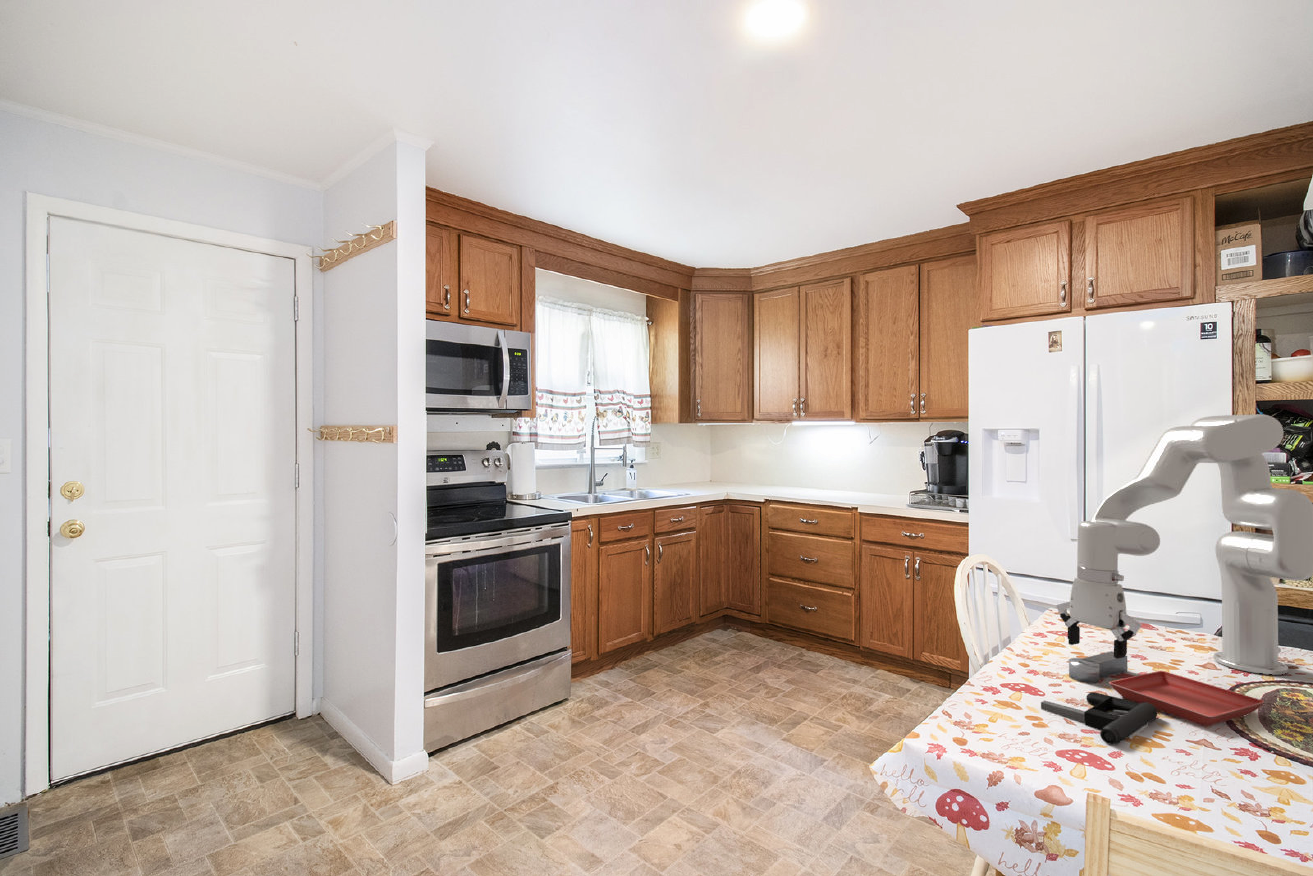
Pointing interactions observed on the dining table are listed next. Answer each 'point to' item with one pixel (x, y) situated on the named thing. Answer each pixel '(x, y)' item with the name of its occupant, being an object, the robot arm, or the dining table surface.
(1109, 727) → the door handle
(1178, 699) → the plant saucer
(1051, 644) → the dining table surface
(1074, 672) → the ball joint lever
